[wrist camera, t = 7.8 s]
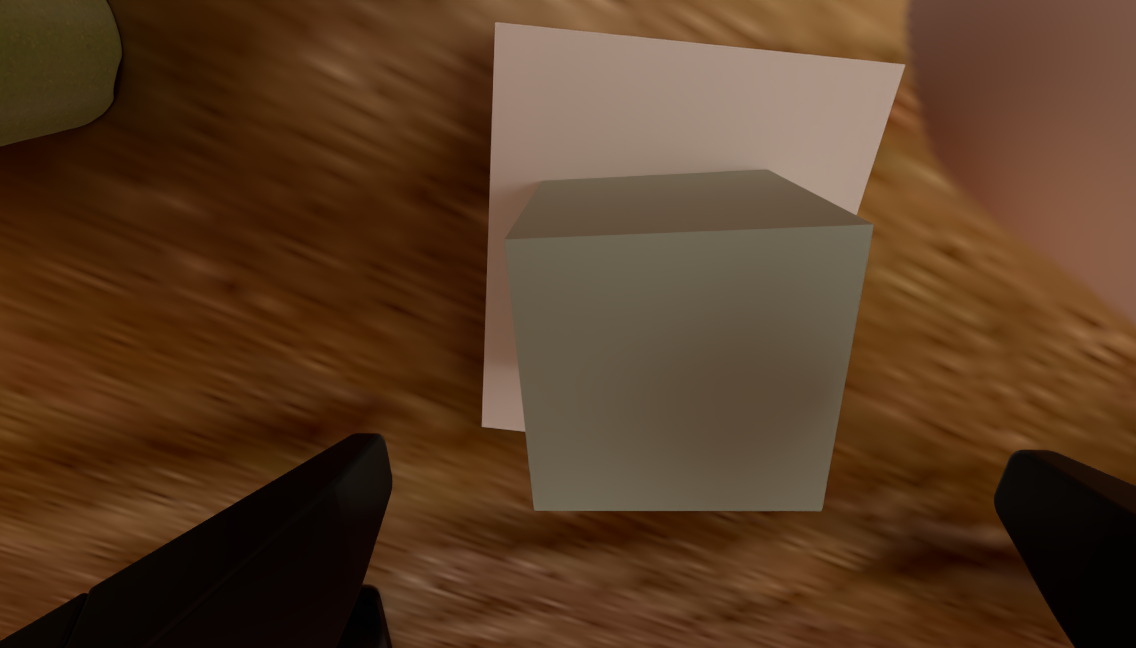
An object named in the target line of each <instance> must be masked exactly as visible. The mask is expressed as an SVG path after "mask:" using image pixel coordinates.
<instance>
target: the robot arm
mask: <svg viewBox="0 0 1136 648" xmlns="http://www.w3.org/2000/svg"><path fill="white" fill-rule="evenodd" d="M391 490H392V473H391V468H390V463H389V457H388V452H387V447H386V442H385V440H384V438H383V436H381V435H380V434H375V433H355V434H352V435H350V436H348V437H347V438H345V439H343V440H342V441H340V442H338V443H337V444H335V445H333V446H332V447H330V448H328V449H326V450H325V451H323V452H321V453H320V454H318V455H316V456H315V457H313V458H311V459H309V460H308V461H306V462H304V463H303V464H301V465H299V466H298V467H296V468H294V469H293V470H291V471H289V472H287V473H286V474H284V475H282V476H281V477H279V478H277V479H276V480H274V481H272V482H270V483H269V484H267V485H265V486H264V487H262V488H260V489H259V490H257V491H255V492H253V493H252V494H250V495H248V496H247V497H245V498H243V499H242V500H240V501H238V502H236V503H235V504H233V505H231V506H230V507H228V508H226V509H225V510H223V511H221V512H219V513H218V514H216V515H214V516H213V517H211V518H209V519H208V520H206V521H204V522H203V523H201V524H199V525H197V526H196V527H194V528H192V529H191V530H189V531H187V532H186V533H184V534H182V535H180V536H179V537H177V538H175V539H174V540H172V541H170V542H169V543H167V544H165V545H163V546H162V547H160V548H158V549H157V550H155V551H153V552H152V553H150V554H148V555H146V556H145V557H143V558H141V559H140V560H138V561H136V562H135V563H133V564H131V565H130V566H128V567H126V568H124V569H123V570H121V571H119V572H118V573H116V574H114V575H113V576H111V577H109V578H107V579H106V580H104V581H102V582H101V583H99V584H97V585H96V586H94V587H92V588H91V589H90V591H89V593H88V594H87V593H82V594H80V595H78V596H77V597H75V598H73V599H72V600H70V601H68V602H67V603H65V604H63V605H61V606H60V607H58V608H56V609H55V610H53V611H51V612H50V613H48V614H46V615H45V616H43V617H41V618H39V619H38V620H36V621H34V622H32V623H31V624H29V625H27V626H25V627H24V628H22V629H20V630H19V631H17V632H15V633H13V634H12V635H10V636H8V637H6V638H5V639H3V640H1V641H0V648H392V646H391V641H390V637H389V633H388V628H387V624H386V620H385V615H384V611H383V607H382V602H381V598H380V595H379V593H378V592H377V591H376V590H374V589H370V588H361V586H362V583H363V580H364V578H365V575H366V572H367V568H368V565H369V562H370V559H371V556H372V552H373V549H374V546H375V543H376V540H377V536H378V533H379V530H380V527H381V524H382V520H383V517H384V514H385V511H386V508H387V504H388V501H389V498H390V495H391ZM994 505H995V509H996V512H997V514H998V516H999V518H1000V520H1001V521H1002V523H1003V525H1004V527H1005V529H1006V531H1007V532H1008V534H1009V536H1010V538H1011V540H1012V541H1013V543H1014V545H1015V547H1016V549H1017V550H1018V552H1019V554H1020V556H1021V558H1022V559H1023V561H1024V563H1025V565H1026V567H1027V568H1028V570H1029V572H1030V574H1031V576H1032V577H1033V579H1034V581H1035V583H1036V585H1037V586H1038V588H1039V590H1040V592H1041V594H1042V595H1043V597H1044V599H1045V601H1046V603H1047V604H1048V606H1049V608H1050V609H1051V611H1052V613H1053V614H1054V616H1055V618H1056V620H1057V621H1058V623H1059V624H1060V626H1061V627H1062V629H1063V631H1064V632H1065V634H1066V635H1067V637H1068V638H1069V640H1070V641H1071V643H1072V644H1073V646H1074V647H1075V648H1136V486H1135V485H1132V484H1130V483H1128V482H1125V481H1123V480H1121V479H1118V478H1116V477H1114V476H1111V475H1109V474H1106V473H1104V472H1102V471H1099V470H1097V469H1095V468H1092V467H1090V466H1088V465H1085V464H1083V463H1080V462H1078V461H1076V460H1073V459H1071V458H1069V457H1066V456H1064V455H1062V454H1059V453H1057V452H1054V451H1049V450H1019V451H1016V452H1015V453H1013V454H1012V455H1011V457H1010V458H1009V460H1008V463H1007V465H1006V468H1005V470H1004V473H1003V475H1002V477H1001V480H1000V482H999V485H998V487H997V489H996V492H995V495H994Z"/></svg>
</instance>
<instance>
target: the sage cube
mask: <svg viewBox="0 0 1136 648" xmlns="http://www.w3.org/2000/svg"><path fill="white" fill-rule="evenodd" d="M873 226H874V224H872V223H870V222H868V221H866V220H864V219H862V218H861V217H859V216H857V215H855V214H853V213H851V212H849V211H847V210H845V209H843V208H841V207H839V206H837V205H835V204H833V203H832V202H830V201H828V200H826V199H824V198H822V197H820V196H818V195H816V194H814V193H812V192H810V191H808V190H806V189H805V188H803V187H801V186H799V185H797V184H795V183H793V182H791V181H789V180H787V179H785V178H783V177H781V176H779V175H778V174H776V173H774V172H772V171H770V170H748V171H728V172H708V173H688V174H668V175H647V176H627V177H607V178H587V179H567V180H547V181H542V182H541V183H540V185H539V186H538V188H537V189H536V191H535V192H534V194H533V196H532V197H531V199H530V200H529V202H528V203H527V205H526V206H525V208H524V210H523V211H522V213H521V214H520V216H519V217H518V219H517V220H516V222H515V224H514V225H513V227H512V228H511V230H510V231H509V233H508V234H507V236H506V238H505V239H504V242H505V251H506V260H507V269H508V278H509V287H510V296H511V305H512V314H513V323H514V333H515V342H516V351H517V360H518V369H519V378H520V387H521V396H522V405H523V414H524V423H525V432H526V441H527V450H528V459H529V468H530V477H531V486H532V495H533V505H534V511H822V507H823V501H824V496H825V490H826V485H827V479H828V474H829V468H830V463H831V457H832V452H833V446H834V441H835V435H836V430H837V424H838V419H839V413H840V408H841V402H842V397H843V391H844V386H845V380H846V375H847V369H848V364H849V358H850V353H851V347H852V342H853V336H854V331H855V325H856V320H857V314H858V309H859V303H860V298H861V292H862V287H863V281H864V276H865V270H866V265H867V259H868V254H869V248H870V243H871V237H872V232H873Z"/></svg>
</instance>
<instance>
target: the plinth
mask: <svg viewBox="0 0 1136 648" xmlns="http://www.w3.org/2000/svg"><path fill="white" fill-rule="evenodd" d="M904 67H905V65H904V64H894V63H885V62H875V61H865V60H856V59H846V58H836V57H827V56H817V55H808V54H798V53H788V52H779V51H769V50H759V49H750V48H740V47H730V46H721V45H711V44H702V43H692V42H682V41H673V40H663V39H653V38H644V37H634V36H624V35H615V34H605V33H596V32H586V31H576V30H567V29H557V28H547V27H538V26H528V25H518V24H509V23H499V22H495V44H494V75H493V105H492V135H491V166H490V196H489V226H488V257H487V287H486V317H485V348H484V378H483V408H482V427H489V428H498V429H507V430H516V431H525V423H524V414H523V405H522V396H521V387H520V378H519V369H518V360H517V351H516V342H515V333H514V323H513V314H512V305H511V296H510V287H509V278H508V269H507V260H506V251H505V242H504V239H505V238H506V236H507V234H508V233H509V231H510V230H511V228H512V227H513V225H514V224H515V222H516V220H517V219H518V217H519V216H520V214H521V213H522V211H523V210H524V208H525V206H526V205H527V203H528V202H529V200H530V199H531V197H532V196H533V194H534V192H535V191H536V189H537V188H538V186H539V185H540V183H541V182H542V181H547V180H567V179H587V178H607V177H627V176H647V175H668V174H688V173H708V172H728V171H748V170H770V171H772V172H774V173H776V174H778V175H779V176H781V177H783V178H785V179H787V180H789V181H791V182H793V183H795V184H797V185H799V186H801V187H803V188H805V189H806V190H808V191H810V192H812V193H814V194H816V195H818V196H820V197H822V198H824V199H826V200H828V201H830V202H832V203H833V204H835V205H837V206H839V207H841V208H843V209H845V210H847V211H849V212H851V213H853V214H855V215H857V212H858V209H859V206H860V203H861V199H862V196H863V193H864V190H865V187H866V184H867V181H868V178H869V175H870V172H871V169H872V166H873V163H874V160H875V156H876V153H877V150H878V147H879V144H880V141H881V138H882V135H883V132H884V129H885V126H886V123H887V120H888V117H889V113H890V110H891V107H892V104H893V101H894V98H895V95H896V92H897V89H898V86H899V83H900V80H901V77H902V74H903V70H904Z"/></svg>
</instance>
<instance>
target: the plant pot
mask: <svg viewBox="0 0 1136 648" xmlns="http://www.w3.org/2000/svg"><path fill="white" fill-rule="evenodd" d="M121 58H122V46H121V41H120V35H119V32H118V29H117V25H116V22H115V19H114V16H113V14H112V11H111V9H110V6H109V5H108V3H107V1H106V0H0V146H4V145H8V144H12V143H16V142H19V141H23V140H27V139H32V138H36V137H40V136H44V135H49V134H53V133H57V132H60V131H64V130H68V129H73V128H77V127H80V126H83V125H86V124H88V123H90V122H92V121H93V120H95V119H96V118H98V117H99V116H101V115H102V114H103V113H104V112H105V111H106V110H107V109H108V108H109V106H110V105H111V103H112V102H113V99H114V96H113V89H114V82H115V78H116V74H117V70H118V66H119V63H120V60H121Z"/></svg>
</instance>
